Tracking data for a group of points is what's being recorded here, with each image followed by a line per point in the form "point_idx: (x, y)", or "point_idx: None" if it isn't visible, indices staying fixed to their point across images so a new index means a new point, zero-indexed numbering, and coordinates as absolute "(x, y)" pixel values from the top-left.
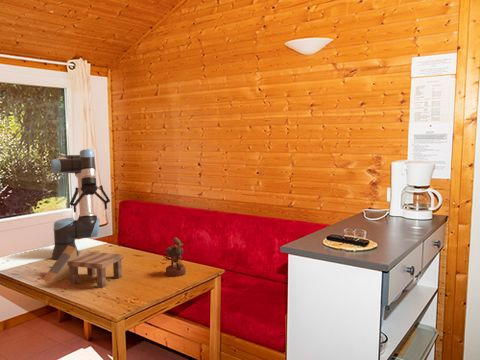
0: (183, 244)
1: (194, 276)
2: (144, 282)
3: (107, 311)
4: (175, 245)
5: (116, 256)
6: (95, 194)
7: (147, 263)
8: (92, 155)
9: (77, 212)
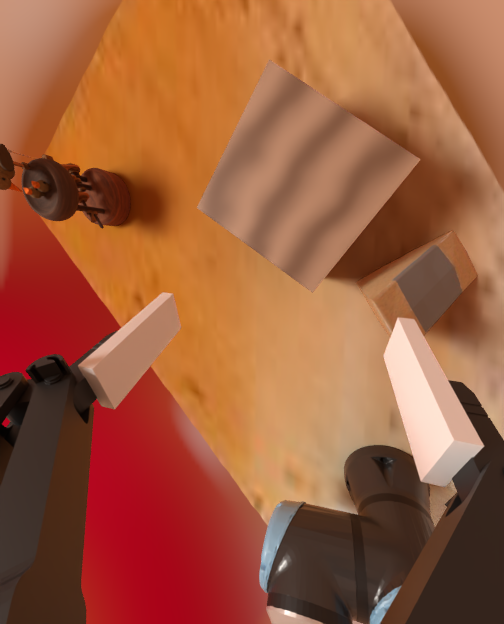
0: None
1: (72, 162)
2: (176, 143)
3: None
4: (27, 188)
5: (215, 180)
6: (54, 608)
7: None
8: None
9: (416, 356)
